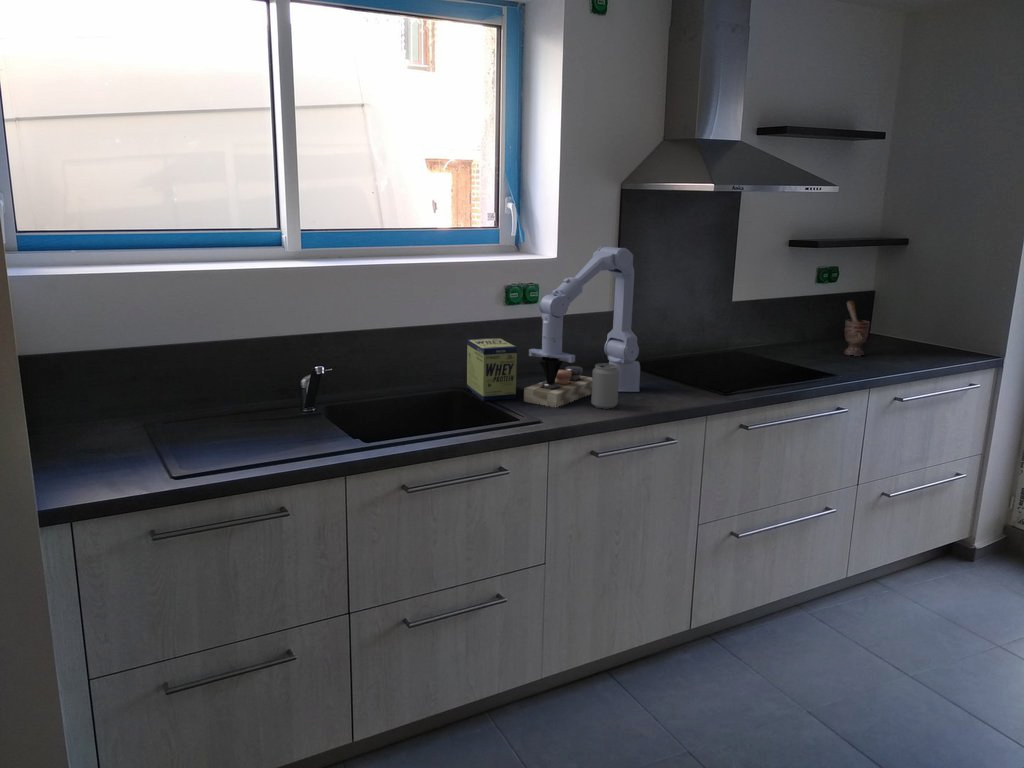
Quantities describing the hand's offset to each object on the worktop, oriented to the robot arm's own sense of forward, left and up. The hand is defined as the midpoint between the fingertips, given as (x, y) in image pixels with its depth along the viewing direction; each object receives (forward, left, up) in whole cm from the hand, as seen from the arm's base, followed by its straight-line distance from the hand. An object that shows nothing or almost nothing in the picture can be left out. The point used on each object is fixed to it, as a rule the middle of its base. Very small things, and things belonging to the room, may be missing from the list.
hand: (550, 383), depth 239 cm
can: (-15, +6, -5) cm, 17 cm away
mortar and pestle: (-123, -70, -5) cm, 142 cm away
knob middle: (-4, -5, -2) cm, 7 cm away
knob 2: (-8, -10, -2) cm, 13 cm away
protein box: (+17, -8, -5) cm, 20 cm away
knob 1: (0, 0, -4) cm, 4 cm away
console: (-4, -5, -5) cm, 8 cm away
